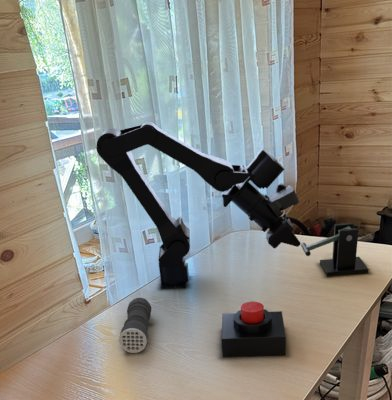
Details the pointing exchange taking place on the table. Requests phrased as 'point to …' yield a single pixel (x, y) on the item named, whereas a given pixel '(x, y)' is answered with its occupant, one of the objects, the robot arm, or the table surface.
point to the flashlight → (135, 326)
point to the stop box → (253, 336)
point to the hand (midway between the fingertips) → (299, 244)
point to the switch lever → (320, 243)
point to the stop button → (252, 312)
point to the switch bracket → (344, 254)
